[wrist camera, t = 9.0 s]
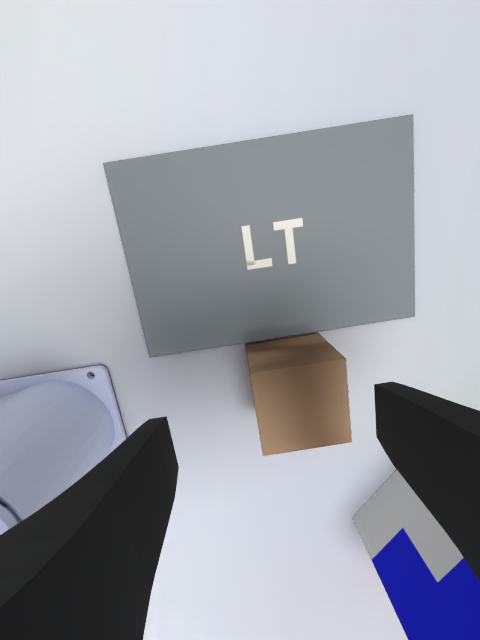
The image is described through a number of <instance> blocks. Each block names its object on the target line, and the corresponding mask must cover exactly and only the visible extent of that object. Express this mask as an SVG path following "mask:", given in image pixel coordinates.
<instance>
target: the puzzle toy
mask: <svg viewBox="0 0 480 640" xmlns="http://www.w3.org/2000/svg"><path fill="white" fill-rule="evenodd" d="M353 521H354V523H355V525H356V527H357V529H358V532H359V534H360V536H361V538H362V540H363V542H364V545H365V547H366V549H367V551H368V553H369V555H370V558H371V560H372V562H373V564H374V566H375V568H376V571H377V573H378V575H379V577H380V579H381V581H382V584H383V586H384V588H385V590H386V592H387V594H388V597H389V599H390V601H391V603H392V605H393V607H394V610H395V612H396V614H397V616H398V618H399V620H400V623H401V625H402V627H403V629H404V631H405V633H406V636H407V638H408V640H480V582H479V580H478V579H477V577H476V576H475V574H474V573H473V571H472V570H471V568H470V567H469V565H468V563H467V562H466V560H465V559H464V557H463V556H462V554H461V553H460V551H459V550H458V548H457V547H456V546H455V544H454V543H453V542H452V540H451V539H450V537H449V536H448V535H447V533H446V532H445V531H444V529H443V528H442V527H441V526H440V524H439V523H438V522H437V520H436V519H435V518H434V517H433V515H432V514H431V513H430V511H429V510H428V509H427V508H426V506H425V505H424V504H423V502H422V501H421V500H420V499H419V497H418V496H417V495H416V494H415V492H414V491H413V490H412V488H411V487H410V486H409V485H408V483H407V482H406V481H405V479H404V478H403V477H402V475H401V474H400V473H399V472H398V470H397V469H396V470H395V471H394V473H393V474H392V475H391V476H390V477H389V478H388V479H387V480H386V481H385V482H384V484H383V485H382V486H381V487H380V488H379V489H378V490H377V491H376V492H375V493H374V495H373V496H372V497H371V498H370V499H369V500H368V501H367V502H366V503H365V504H364V506H363V507H362V508H361V509H360V510H359V511H358V512H357V513H356V514H355V515H354V517H353Z"/></svg>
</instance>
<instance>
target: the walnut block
mask: <svg viewBox="0 0 480 640" xmlns="http://www.w3.org/2000/svg"><path fill="white" fill-rule="evenodd" d="M245 347H246V353H247V359H248V366H249V372H250V378H251V384H252V391H253V397H254V403H255V409H256V416H257V422H258V428H259V434H260V441H261V447H262V453H263V456H266V455H273V454H279V453H285V452H292V451H298V450H304V449H311V448H317V447H324V446H330V445H336V444H343V443H349V442H352V438H351V424H350V410H349V397H348V383H347V369H346V358H345V357H344V356H342V355H341V354H340V353H339V352H338V351H337V350H336V349H335V348H334V347H333V346H332V345H330V344H329V343H328V342H327V341H326V340H325V339H324V338H323V337H322V336H321V335H320V334H318V333H310V334H304V335H298V336H292V337H285V338H279V339H273V340H267V341H260V342H254V343H248V344H245Z"/></svg>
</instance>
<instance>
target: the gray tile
mask: <svg viewBox="0 0 480 640" xmlns="http://www.w3.org/2000/svg"><path fill="white" fill-rule="evenodd" d="M103 165H104V170H105V174H106V178H107V182H108V186H109V191H110V195H111V199H112V203H113V207H114V211H115V216H116V220H117V224H118V228H119V232H120V236H121V241H122V245H123V249H124V253H125V257H126V261H127V266H128V270H129V274H130V278H131V282H132V286H133V291H134V295H135V299H136V303H137V307H138V311H139V316H140V320H141V324H142V328H143V332H144V336H145V341H146V345H147V349H148V353H149V357H157V356H163V355H170V354H176V353H183V352H189V351H196V350H202V349H208V348H215V347H221V346H228V345H234V344H241V343H247V342H254V341H260V340H267V339H273V338H279V337H286V336H292V335H299V334H305V333H312V332H318V331H325V330H331V329H338V328H344V327H350V326H357V325H363V324H370V323H376V322H383V321H389V320H396V319H402V318H409V317H415V267H414V148H413V114H412V115H406V116H400V117H393V118H387V119H380V120H374V121H368V122H361V123H355V124H349V125H342V126H336V127H329V128H323V129H317V130H310V131H304V132H298V133H291V134H285V135H279V136H272V137H266V138H259V139H253V140H247V141H240V142H234V143H228V144H221V145H215V146H208V147H202V148H196V149H189V150H183V151H177V152H170V153H164V154H157V155H151V156H145V157H138V158H132V159H126V160H119V161H113V162H106V163H103Z"/></svg>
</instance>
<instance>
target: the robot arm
mask: <svg viewBox="0 0 480 640" xmlns="http://www.w3.org/2000/svg"><path fill="white" fill-rule="evenodd" d="M90 372H93V373H94V375H95V377H93V376H91V375H90ZM374 389H375V411H376V434H377V438H378V440H379V442H380V443H381V445H382V447H383V449H384V450H385V452H386V454H387V455H388V457H389V459H390V460H391V462H392V463H393V465H394V466H395V468H396V469H397V470H398V472H399V473H400V474H401V475H402V477H403V478H404V479H405V481H406V482H407V483H408V485H409V486H410V487H411V488H412V490H413V491H414V492H415V494H416V495H417V496H418V497H419V499H420V500H421V501H422V502H423V504H424V505H425V506H426V508H427V509H428V510H429V511H430V513H431V514H432V515H433V517H434V518H435V519H436V520H437V522H438V523H439V524H440V526H441V527H442V528H443V529H444V531H445V532H446V533H447V535H448V536H449V537H450V539H451V540H452V542H453V543H454V544H455V546H456V547H457V548H458V550H459V551H460V553H461V554H462V556H463V557H464V559H465V560H466V562H467V563H468V565H469V567H470V568H471V570H472V571H473V573H474V574H475V576H476V577H477V579H478V580H479V582H480V411H478V410H475V409H472V408H469V407H466V406H463V405H460V404H457V403H454V402H451V401H449V400H446V399H443V398H440V397H437V396H434V395H432V394H429V393H426V392H423V391H420V390H417V389H415V388H412V387H409V386H406V385H402V384H399V383H395V382H388V383H381V384H375V385H374ZM177 476H178V463H177V459H176V454H175V450H174V446H173V442H172V438H171V433H170V429H169V425H168V421H167V417H161V418H154V419H149V420H148V421H146V422H145V423H144V424H142V425H141V426H140V427H139V428H138V429H137V430H136V431H134V432H133V433H132V434H131V435H130V436H129V437H128V438H126V435H125V431H124V428H123V424H122V420H121V417H120V413H119V410H118V406H117V403H116V399H115V395H114V392H113V388H112V385H111V381H110V377H109V374H108V371H107V369H106V368H105V367H104V366H102V365H97V366H91V367H84V368H78V369H71V370H65V371H59V372H52V373H46V374H39V375H33V376H26V377H20V378H13V379H7V380H1V381H0V640H143V635H144V629H145V623H146V617H147V611H148V605H149V600H150V595H151V590H152V586H153V581H154V576H155V573H156V569H157V565H158V561H159V557H160V553H161V549H162V545H163V542H164V538H165V534H166V530H167V526H168V522H169V518H170V514H171V510H172V506H173V502H174V498H175V491H176V484H177Z"/></svg>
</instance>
